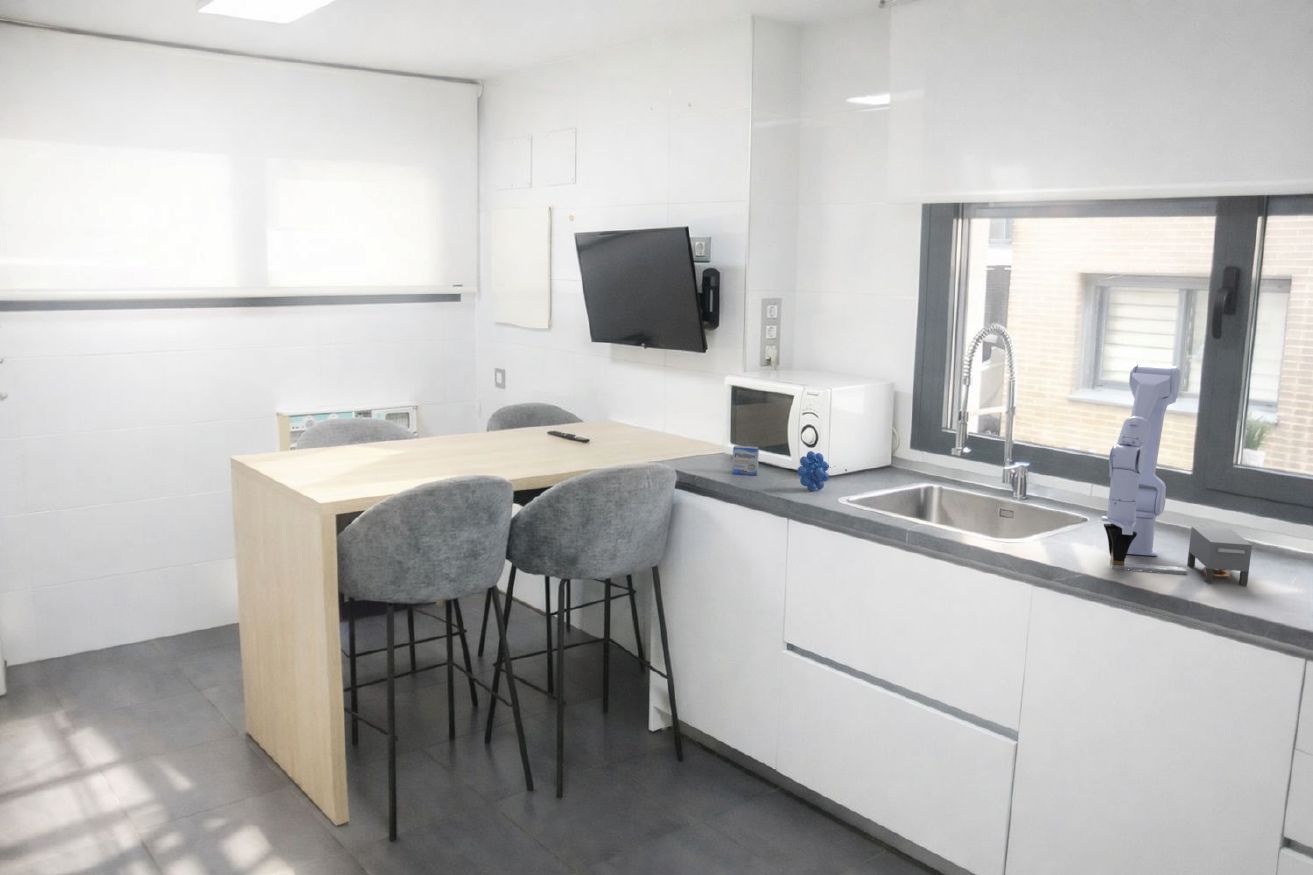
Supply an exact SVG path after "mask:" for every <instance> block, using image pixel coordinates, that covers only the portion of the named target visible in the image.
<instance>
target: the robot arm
mask: <svg viewBox="0 0 1313 875" xmlns="http://www.w3.org/2000/svg"><path fill="white" fill-rule="evenodd" d="M1180 383H1181V369H1180V368H1179V367H1178V366H1177V365H1175V366H1167V365H1153V364H1152V365H1150V364H1141V363H1134V365H1133V366H1132V367H1131V369H1130V373H1129V383H1128V384H1129V387H1130V390H1131V393H1132V395H1133V399H1134V400H1133V406H1132V411H1131V416H1130V417H1128V418H1126V419H1125V420H1124V422H1123V424H1122V427H1121V430H1120V433H1119V436H1118V439H1117V443H1116V445H1115V446H1114V445H1113V446H1112V447H1111V449H1110V451H1109V452H1110V453H1109V458H1108V467H1109V474H1108V476H1109V478H1110V483H1109V485H1110V486H1109V492H1108V493H1109V494H1108V504H1107V514H1106V515H1105V516H1104V515H1101V518H1100V520H1101V521H1103V522H1108V523H1104V524H1103V528H1104V530H1105V532H1106V537H1107V541H1108V542H1107V544H1108V551H1109V556H1110V557H1111V550H1112V552H1113V559H1114V561H1124V560H1125V561H1126V557H1127V555H1135V556H1136V555H1138V556H1147V557H1149V556H1151V557H1158V553H1157V552H1156V551H1155V549H1153V547H1154V538H1155V528H1156V521H1157V520H1156V519H1157V517H1159V516H1161V515H1162V514H1163V513H1164V510H1165V506H1166V500H1167V498H1166V496H1167V495H1166V491H1167V487H1166V483H1165V482H1164V481H1163V480H1162V479H1161V478H1160V477H1159V476H1157V475H1156V471H1157V470H1156V469H1157V465H1158V464H1157V463H1158V457H1159V452H1160V451H1159V450H1160V443H1161V439H1162V431H1163V425H1164V420H1165V419H1164V418H1165V413H1166V411H1167V409H1168V406H1169V405H1171V404H1175V403H1176V402H1177V398H1178V394H1179V388H1180ZM1151 487H1154V488H1151Z"/></svg>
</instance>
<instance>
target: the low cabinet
mask: <svg viewBox="0 0 1313 875" xmlns="http://www.w3.org/2000/svg"><path fill="white" fill-rule="evenodd" d="M1188 545H1189V547H1188V554H1187V563H1186V565H1187V566H1188V567H1190V568H1191V567H1192V568H1193V567H1195V566H1196V565H1195V564H1196V560H1198V561H1199V562H1200V563H1201V564H1202V565H1203V566H1204V567H1206V570H1205V575H1204V580H1203V582H1205V584H1213V579H1214V578H1213V571H1214V569H1222V570H1229V571H1235V572H1237V571H1238V572H1240V573H1239V580H1238V585H1240V587H1247V586H1248V581H1249V573H1250V563H1251V557H1252V556H1251V555H1252V549H1253V545H1252V544H1251V542H1249V541H1247V540H1246V539H1245V538H1244V537H1242V536H1241V535H1239V534H1238V533H1237V532H1235V531H1233V530H1232V529H1231V528H1223V527H1208V526H1204V527H1203V526H1193V525H1192V526H1191V529H1190V537H1189V544H1188Z"/></svg>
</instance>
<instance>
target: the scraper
mask: <svg viewBox="0 0 1313 875" xmlns="http://www.w3.org/2000/svg"><path fill="white" fill-rule="evenodd" d="M1125 561H1126V559H1125V560H1124V561H1114V559H1113V552H1112V550H1111V556H1110V561H1109V566H1110V568H1111V567H1112V568H1111V570H1119V569H1127V570H1126V571H1131V570H1142V571H1141V572H1144V571H1152V572H1151V573H1157V572H1161V573H1160V574H1170V573H1172V574H1173V575H1182V574H1185V576H1187V574H1188V571H1187V570H1186V569H1185V567H1183V566H1182V567H1180V566H1171V565H1157V564H1156V565H1155V564H1145V563H1144V564H1143V563H1132V562H1125ZM1128 569H1129V570H1128ZM1172 574H1171V575H1172Z"/></svg>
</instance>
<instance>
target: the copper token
mask: <svg viewBox="0 0 1313 875" xmlns="http://www.w3.org/2000/svg"><path fill="white" fill-rule="evenodd" d="M1205 570H1206V566H1204V567H1203V571H1202V572H1203V573H1202V574H1203V575H1204V576H1205ZM1230 572H1231V570H1222V569H1214V571H1213V579H1220V580H1221V579H1222V580H1227V579H1229V578H1230Z"/></svg>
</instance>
